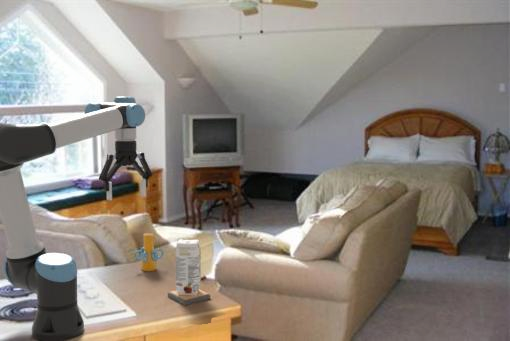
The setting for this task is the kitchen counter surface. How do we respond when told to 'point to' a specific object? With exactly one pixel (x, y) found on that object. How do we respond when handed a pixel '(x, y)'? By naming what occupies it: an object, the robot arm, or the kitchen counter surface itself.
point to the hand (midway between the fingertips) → (126, 198)
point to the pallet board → (189, 297)
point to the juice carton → (188, 267)
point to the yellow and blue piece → (148, 253)
